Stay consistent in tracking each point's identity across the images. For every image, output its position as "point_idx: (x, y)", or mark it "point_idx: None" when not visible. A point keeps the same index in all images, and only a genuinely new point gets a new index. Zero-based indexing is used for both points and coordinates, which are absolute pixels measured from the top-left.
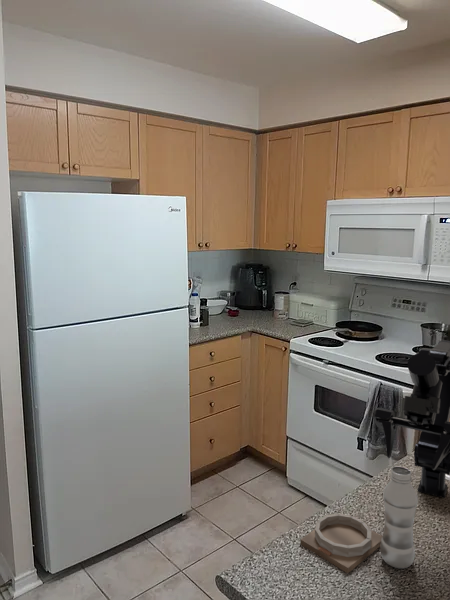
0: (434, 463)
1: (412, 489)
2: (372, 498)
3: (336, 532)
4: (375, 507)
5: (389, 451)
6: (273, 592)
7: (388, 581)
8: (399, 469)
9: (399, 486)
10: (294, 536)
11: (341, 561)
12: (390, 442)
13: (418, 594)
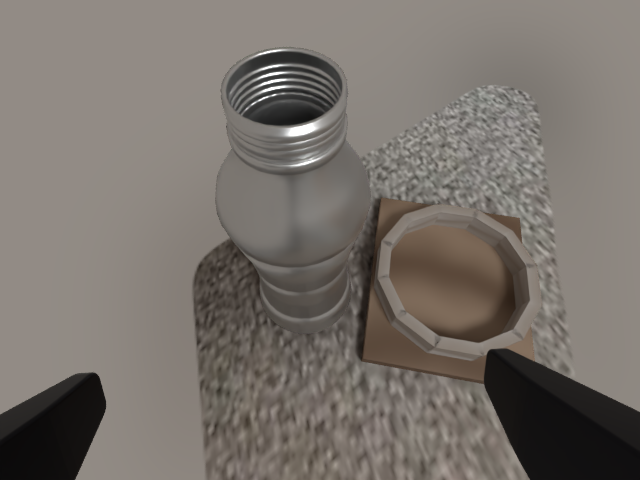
0: (52, 394)
1: (229, 160)
2: None
3: (476, 293)
4: None
5: (519, 368)
6: (452, 106)
7: None
8: (311, 138)
9: (283, 112)
10: (544, 241)
11: (402, 206)
12: (614, 438)
13: None
